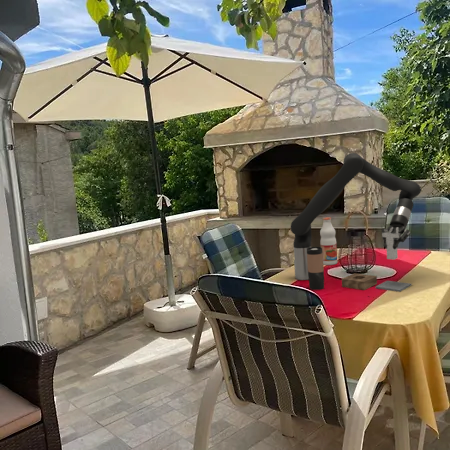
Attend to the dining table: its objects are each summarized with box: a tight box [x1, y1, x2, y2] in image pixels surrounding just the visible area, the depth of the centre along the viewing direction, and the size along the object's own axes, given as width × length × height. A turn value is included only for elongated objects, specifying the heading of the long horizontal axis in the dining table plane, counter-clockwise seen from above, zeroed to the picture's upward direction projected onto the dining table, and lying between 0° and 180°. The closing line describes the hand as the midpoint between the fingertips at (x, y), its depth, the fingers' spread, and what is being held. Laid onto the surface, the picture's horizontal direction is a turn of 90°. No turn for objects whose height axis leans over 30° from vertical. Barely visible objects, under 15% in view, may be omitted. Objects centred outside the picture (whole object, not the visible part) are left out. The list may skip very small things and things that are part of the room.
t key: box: [381, 232, 402, 261], centre depth 205 cm, size 8×4×12 cm, turn 43°
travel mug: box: [307, 246, 325, 291], centre depth 216 cm, size 8×8×20 cm
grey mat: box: [374, 280, 413, 293], centre depth 208 cm, size 12×12×1 cm
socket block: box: [341, 272, 378, 291], centre depth 215 cm, size 12×12×4 cm
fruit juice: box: [319, 216, 338, 266], centre depth 264 cm, size 9×9×28 cm
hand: (389, 247), depth 204 cm, fingers closed on t key, 3 cm apart
